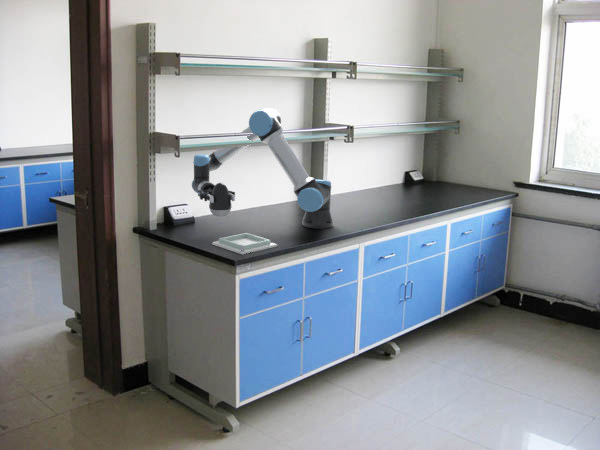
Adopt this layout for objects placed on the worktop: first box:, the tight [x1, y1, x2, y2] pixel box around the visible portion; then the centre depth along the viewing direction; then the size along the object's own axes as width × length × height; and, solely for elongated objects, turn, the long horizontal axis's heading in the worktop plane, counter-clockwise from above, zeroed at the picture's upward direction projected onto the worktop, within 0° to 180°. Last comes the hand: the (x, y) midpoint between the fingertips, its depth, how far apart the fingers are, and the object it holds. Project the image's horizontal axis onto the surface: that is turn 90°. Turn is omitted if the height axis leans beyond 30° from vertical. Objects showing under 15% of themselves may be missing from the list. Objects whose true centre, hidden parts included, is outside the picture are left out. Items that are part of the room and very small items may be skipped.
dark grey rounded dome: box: [208, 182, 233, 218], centre depth 302 cm, size 10×10×15 cm
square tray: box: [211, 232, 278, 255], centre depth 289 cm, size 20×20×4 cm
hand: (223, 199), depth 298 cm, fingers closed on dark grey rounded dome, 9 cm apart
